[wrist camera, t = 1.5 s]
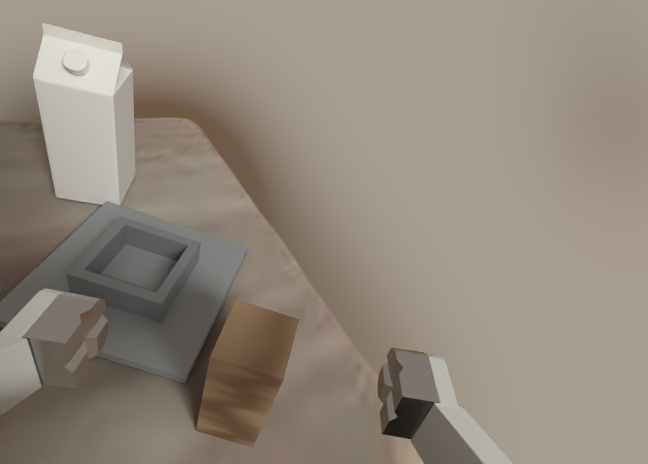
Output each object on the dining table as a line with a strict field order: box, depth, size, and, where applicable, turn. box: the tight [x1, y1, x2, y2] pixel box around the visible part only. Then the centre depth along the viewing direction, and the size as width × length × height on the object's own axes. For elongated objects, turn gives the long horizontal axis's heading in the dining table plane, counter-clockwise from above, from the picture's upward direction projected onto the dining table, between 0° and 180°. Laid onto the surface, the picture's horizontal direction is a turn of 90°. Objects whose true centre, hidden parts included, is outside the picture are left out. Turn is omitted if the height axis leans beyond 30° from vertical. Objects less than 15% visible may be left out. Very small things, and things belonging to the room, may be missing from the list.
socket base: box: [0, 201, 248, 383], centre depth 41 cm, size 18×18×4 cm
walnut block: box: [196, 299, 299, 447], centre depth 31 cm, size 5×5×12 cm
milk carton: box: [33, 23, 135, 205], centre depth 44 cm, size 7×7×19 cm
